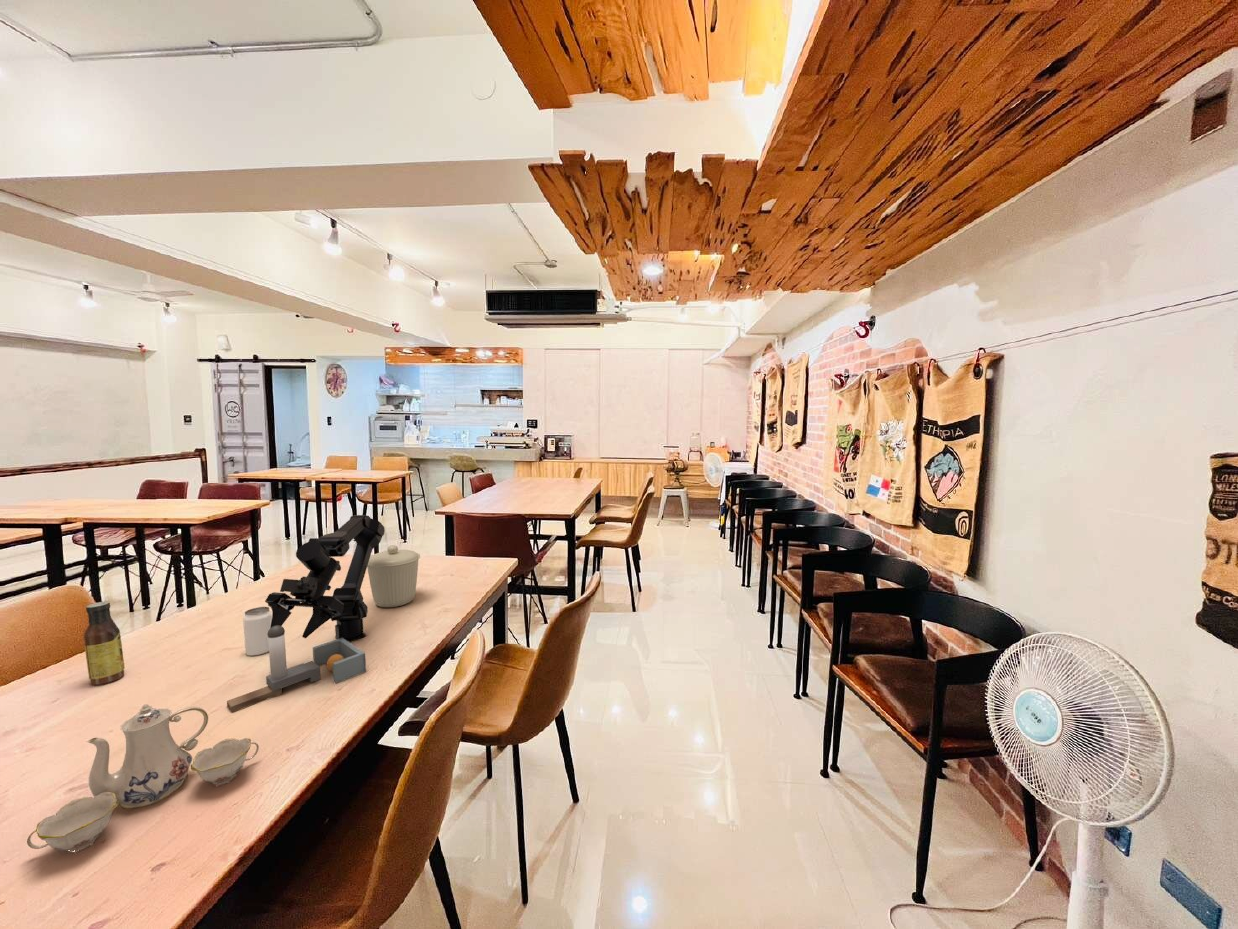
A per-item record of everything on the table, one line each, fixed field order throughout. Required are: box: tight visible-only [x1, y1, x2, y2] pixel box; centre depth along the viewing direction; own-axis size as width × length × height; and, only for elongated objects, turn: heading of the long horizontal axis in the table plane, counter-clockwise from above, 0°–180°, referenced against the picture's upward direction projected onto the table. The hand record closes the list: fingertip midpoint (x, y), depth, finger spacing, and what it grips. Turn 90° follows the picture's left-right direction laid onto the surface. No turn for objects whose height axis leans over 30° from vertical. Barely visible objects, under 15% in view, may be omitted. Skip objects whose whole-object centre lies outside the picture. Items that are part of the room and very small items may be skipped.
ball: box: [326, 654, 344, 672], centre depth 126 cm, size 4×4×4 cm
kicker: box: [265, 625, 321, 691], centre depth 118 cm, size 10×5×16 cm, turn 141°
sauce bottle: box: [83, 601, 125, 686], centre depth 120 cm, size 6×6×20 cm
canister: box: [367, 544, 421, 608], centre depth 171 cm, size 18×18×21 cm
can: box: [242, 606, 272, 657], centre depth 135 cm, size 6×6×12 cm
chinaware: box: [26, 703, 260, 854], centre depth 82 cm, size 28×17×17 cm, turn 146°
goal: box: [312, 638, 367, 684], centre depth 126 cm, size 7×14×5 cm, turn 51°
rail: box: [226, 685, 283, 713], centre depth 112 cm, size 10×4×1 cm, turn 141°
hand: (287, 636), depth 118 cm, fingers open, 9 cm apart
